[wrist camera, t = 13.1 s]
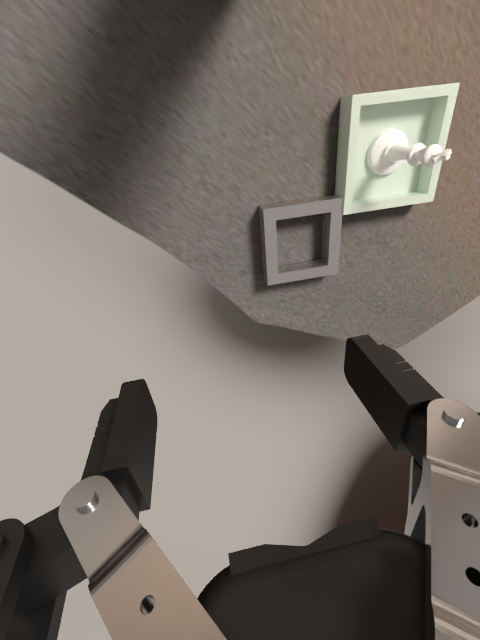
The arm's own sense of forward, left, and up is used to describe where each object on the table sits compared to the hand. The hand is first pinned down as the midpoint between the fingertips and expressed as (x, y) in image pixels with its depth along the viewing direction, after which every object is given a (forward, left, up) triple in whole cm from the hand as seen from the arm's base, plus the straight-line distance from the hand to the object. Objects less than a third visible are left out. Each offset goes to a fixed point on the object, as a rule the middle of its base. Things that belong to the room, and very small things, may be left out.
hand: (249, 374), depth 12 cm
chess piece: (-4, +23, -30) cm, 38 cm away
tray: (-4, +23, -30) cm, 38 cm away
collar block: (+5, +12, -30) cm, 33 cm away
